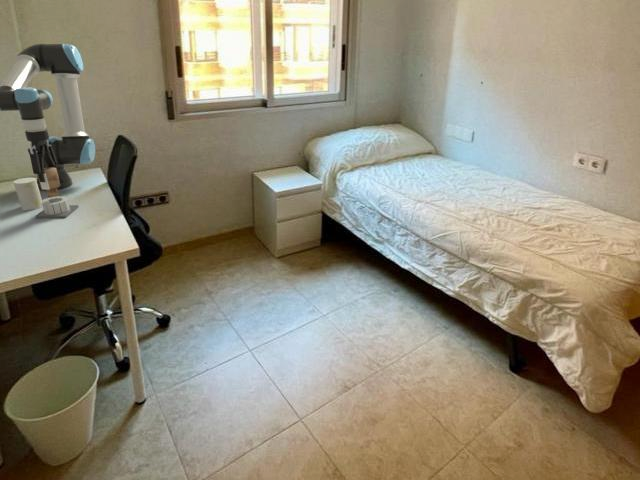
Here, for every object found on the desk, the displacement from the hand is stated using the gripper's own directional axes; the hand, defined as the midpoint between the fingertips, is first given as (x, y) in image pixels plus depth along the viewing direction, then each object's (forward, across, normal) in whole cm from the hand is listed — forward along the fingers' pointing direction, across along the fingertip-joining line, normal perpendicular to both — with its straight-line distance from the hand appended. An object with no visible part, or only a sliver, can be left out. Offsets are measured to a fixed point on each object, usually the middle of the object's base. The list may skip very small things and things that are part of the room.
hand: (50, 186), depth 180 cm
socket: (+12, 0, 0) cm, 12 cm away
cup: (+12, -7, -14) cm, 20 cm away
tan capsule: (+4, 0, 0) cm, 4 cm away
